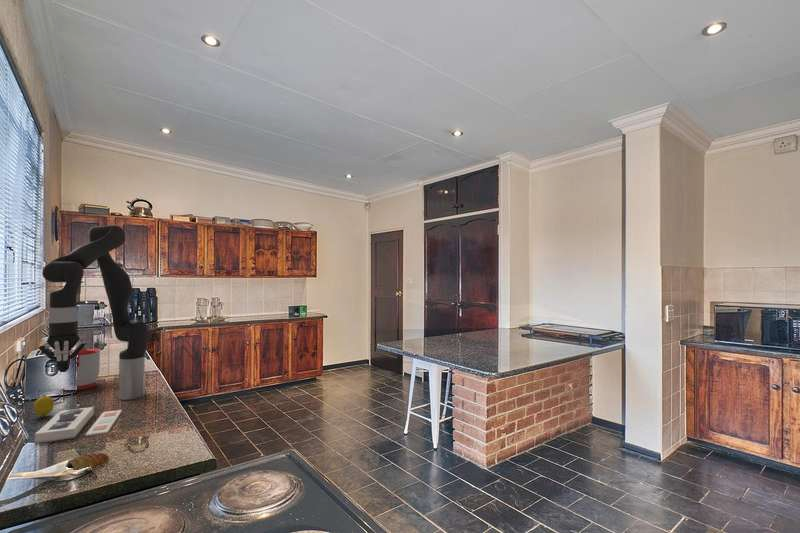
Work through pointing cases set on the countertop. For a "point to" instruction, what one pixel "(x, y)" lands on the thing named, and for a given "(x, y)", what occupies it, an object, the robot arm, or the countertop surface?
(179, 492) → the countertop surface
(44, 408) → the lemon
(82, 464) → the pastry
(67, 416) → the button middle
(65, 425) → the button near
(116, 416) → the pattern card
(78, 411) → the button far
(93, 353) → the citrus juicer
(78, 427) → the button panel
